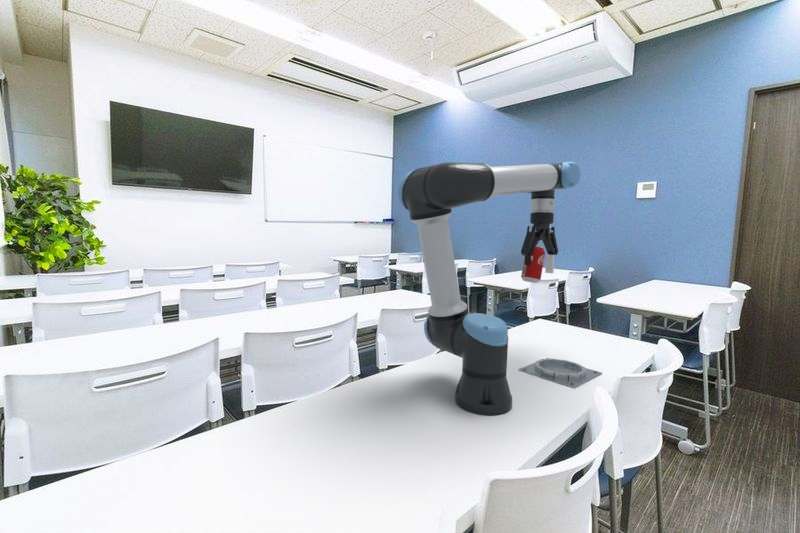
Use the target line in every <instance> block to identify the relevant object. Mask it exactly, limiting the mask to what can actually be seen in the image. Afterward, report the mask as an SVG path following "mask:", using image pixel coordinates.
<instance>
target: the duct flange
mask: <svg viewBox="0 0 800 533" xmlns="http://www.w3.org/2000/svg"><path fill="white" fill-rule="evenodd" d="M517 369H518V371H519V372H522V373H526V374H529V375H532V376H533V377H534V376H535V377H537V378H540V379H544V380H546V381H550V382H553V383H557V384H559V385H563V386H565V387H569V388H572V389H576V388H578V387H581V386H582V385H584V384H586V383H588V382H590V381H591V380H593V379H595V378H597V377H599V376H601V375H603V372H602V371H599V370H594V369H590V368H586V367H585V366H583V365H581V364H579V363H577V362H573V361H570V360H566V359H558V358H549V357H547V358H542V359H539V360H536V361H535V362H534V363H531V364H528V365H526V366H523V367H521V368H517Z"/></svg>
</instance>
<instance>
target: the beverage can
mask: <svg viewBox="0 0 800 533" xmlns="http://www.w3.org/2000/svg"><path fill="white" fill-rule="evenodd" d="M545 251H546V250H545V247H543V246H540V245H537V246H536V247H535V248H534V251H533V254H532V256H533V260H530V265H525V256H524V258H523V264H522V270H521V275H520V277H521V279H522V281H523V282H527V283H534V284H538V283H539V282H540V281H541V279H542V273H543V267H544V263H545V258H546V252H545Z"/></svg>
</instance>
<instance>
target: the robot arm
mask: <svg viewBox="0 0 800 533" xmlns="http://www.w3.org/2000/svg"><path fill="white" fill-rule="evenodd" d="M580 180H581V169H580V166H579V165H578V164H577V162H574V161H563V162H556V163H542V164H541V163H539V164H538V163H537V164H521V165H518V164H517V165H500V166H497V165H496V166H490V165H489V164H487V163H485V162H478V163H477V162H476V163H475V162H474V163H473V162H441V163H437V164H433V165H429V166H424V167H418V168H415V169H413V170H410V171H409V172H407V173H406V174H405V175H404V176H403V177H402V179H401V181H400V183H399V185H398V190H397V194H398V195H397V196H398V199H399V203H400V204H401V206H402V207H403V208H404V210H407V211H408V213H409V218H410V221H411V222H412V223H413V224H415V225H416V227H417V231H418V237H419V243H420V247H421V254H422V258H423V263H424V268H425V270H424V271H425V275H426V280H427V285H428V286H427V288H428V290H429V296H430V302H431V305H430V306H429V308H428V309H427V316H426V320H425V321H424V324H423V325H424V326H423V331H424V332H423V333H424V335H425V337H426V339H427V341H428V342H429V343H430V344H431V345H432V346H434V347H435V348H437V349H438V350H441V351H443V352H446V353H449V354H452V355H454V356H457V357H459V358H460V359H462V370H461V375H460V378H459V381H458V384H457V386H456V389H455V393H454V403H455V404H456V405H457V407H459V408H460V409H462V410H464V411H466V412H469V413H472V414H476V415H482V416H499V415H503V414H506V413H508V412H509V411H511V410H512V408H513V396H512V394H511V389H510V385H509V382H508V377H507V368H508V349H509V332H508V331H509V330H508V325H507V323H506V322H505V321H504V320H503V319H501V318H500V317H498V316H495V315H491V314H485V313H479V312H474V313H469V309H468V304H467V303H466V302H465V301H463V300H462V299H461V293H460V287H459V280H458V274H457V270H456V269H457V268H456V263H455V256H454V250H453V244H452V239H451V233H450V232H451V231H450V226H449V218H450V216H452V214H453V211H452V209H454V208H459V207H462V206H466V205H470V204H474V203H478V202H479V203H480V202H486V201H488V200H489V199H490V198H491V197H498V196H505V195H506V196H507V195H516V194H525V193H526V194H530V196H531V197H530V212H531V213H530V217H529V218H530V219H529V222H530V224H533V225H528V226H527V228H526V235H525V236H524V240H523V243H522V247H521V249H520V254H521V256H524V257H525V265H530V260H533V256H532V254H533V251H534V248H535V247H536V246H538V244H539V242H540V241H542V243H543V245H544V249H546V250H545V251H546V253H547V254H545V266H544V267H545V273H546V274H554V269H555V268H554V266H555V255H556V256H557V255H558V253H559V248H558V243H557V242H558V241H557V239H556V233H555V232H556V229H555V228H556V227H555V226H550V225H552V224H554V219H555V216H554V215H555V214H554V212H553V211H555V204H556V202H555V195H556V194H555V191H556V190H563V189H565V190H566V189H571V188H575V187H576V186H577V185H578V184H579V182H580Z"/></svg>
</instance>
